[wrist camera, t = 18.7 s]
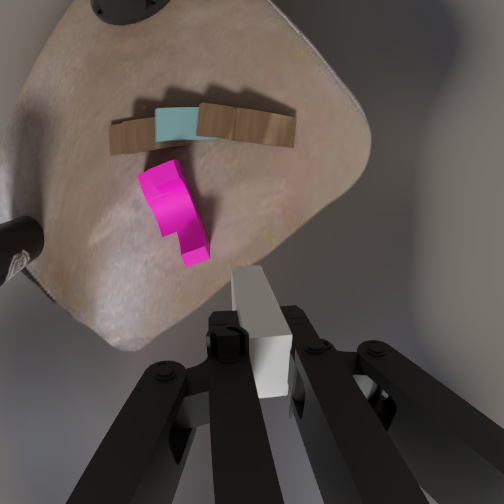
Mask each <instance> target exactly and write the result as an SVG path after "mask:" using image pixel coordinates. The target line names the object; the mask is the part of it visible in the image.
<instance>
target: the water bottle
mask: <svg viewBox="0 0 504 504" xmlns="http://www.w3.org/2000/svg"><path fill="white" fill-rule="evenodd" d="M43 246H44V236H43V232H42V229H41V227H40V225H39V224H38V222H37V221H36V220H35V219H33V218H31V217H29V216H23V217H20V218H17V219H14V220H11V221H8V222H5V223H2V224H0V286H1V285H3V284H4V283H5V282H6V281H8V280H9V279H10V278H11V277H12V276H13V275H15V274H16V273H17V272H19V271H20V270H21V269H22V268H24V267H25V266H26V265H27V264H29V263H30V262H31V261H33V260H34V259H35V258H37V257H38V256H39V255H40V254H41V252H42V250H43Z"/></svg>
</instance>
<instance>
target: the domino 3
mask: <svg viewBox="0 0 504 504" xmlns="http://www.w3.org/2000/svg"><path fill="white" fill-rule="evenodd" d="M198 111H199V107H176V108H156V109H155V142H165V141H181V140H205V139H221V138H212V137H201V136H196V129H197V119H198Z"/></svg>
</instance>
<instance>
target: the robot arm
mask: <svg viewBox="0 0 504 504" xmlns="http://www.w3.org/2000/svg"><path fill="white" fill-rule="evenodd" d="M168 2H169V0H91V7H92V9H93V11H94V13H95V14H96V15H97V16H98V18H99V19H101V20H102V21H104V22H106V23H108V24H112V25H128V24H133V23H136V22H139V21H142V20H145V19H147V18H149V17H151V16H152V15H154V14H155V13H157V12H158V11H160V10H161V9H162V8H163V7H164V6H165V5H166V4H167V3H168ZM231 284H232V311H216V312H213V313H212V314H211V316H210V317H209V331H208V332H207V335H206V344H207V354H208V357H207V359H206V360H205V361H204V362H203V363H201V364H199V365H197V366H194V367H191V368H187V369H185V367H184V366H183V365H181V364H180V363H177V362H174V361H160V362H157V363H155V364H152V365H150V366H149V367H148V368H147V369H146V370H145V372H144V374H143V375H142V377H141V378H140V380H139V382H138V383H137V385H136V386H135V388H134V390H133V391H132V393H131V394H130V396H129V398H128V399H127V401H126V403H125V404H124V406H123V407H122V409H121V411H120V412H119V414H118V416H117V417H116V419H115V421H114V422H113V424H112V425H111V427H110V429H109V431H108V432H107V434H106V436H105V437H104V439H103V440H102V442H101V444H100V445H99V447H98V449H97V451H96V452H95V454H94V456H93V457H92V459H91V461H90V462H89V464H88V466H87V468H86V469H85V471H84V473H83V474H82V476H81V478H80V480H79V481H78V483H77V485H76V487H75V488H74V490H73V492H72V494H71V496H70V497H69V499H68V501H67V502H66V504H172V501H173V498H174V495H175V492H176V489H177V486H178V483H179V480H180V477H181V474H182V472H183V469H184V466H185V463H186V460H187V457H188V454H189V451H190V448H191V445H192V442H193V439H194V436H195V433H196V427H198V426H201V425H204V424H208V423H210V434H211V452H212V467H213V482H214V494H215V504H284V501H283V497H282V493H281V489H280V485H279V481H278V477H277V474H276V469H275V465H274V461H273V457H272V453H271V449H270V445H269V440H268V436H267V431H266V427H265V423H264V419H263V414H262V410H261V406H260V402H259V398H267V397H276V396H283V395H287V393H288V385H289V388H290V391H291V400H290V409H289V418H292V414H293V413H294V416H295V419H296V422H297V425H298V428H299V431H300V434H301V437H302V440H303V443H304V446H305V449H306V452H307V455H308V458H309V461H310V464H311V467H312V470H313V473H314V475H315V478H316V481H317V484H318V487H319V490H320V493H321V496H322V499H323V502H324V504H429V502H428V500H427V498H426V497H425V495H424V493H423V492H422V490H421V488H420V487H419V485H420V486H421V487H422V488H423V489H424V490H425V491H426V492H427V493H428V494H429V495H430V496H431V497H432V498H433V499H434V500H435V501H436V502H437V503H438V504H504V429H503V428H502V427H500V426H499V425H497V424H496V423H495V422H493V421H492V420H491V419H489V418H488V417H487V416H485V415H484V414H483V413H481V412H480V411H479V410H477V409H476V408H475V407H473V406H472V405H470V404H469V403H468V402H466V401H465V400H464V399H462V398H461V397H459V396H458V395H457V394H456V393H454V392H453V391H451V390H450V389H449V388H447V387H446V386H445V385H443V384H442V383H441V382H439V381H438V380H436V379H435V378H434V377H432V376H431V375H429V374H428V373H427V372H426V371H424V370H422V369H421V368H420V367H419V366H417V365H416V364H414V363H413V362H412V361H410V360H409V359H408V358H406V357H405V356H404V355H402V354H401V353H399V352H398V351H397V350H395V349H394V348H393V347H391V346H390V345H388V344H386V343H384V342H381V341H376V340H370V341H365V342H363V343H361V344H360V345H359V346H358V348H357V352H343V351H337V350H336V349H335V347H334V346H333V345H332V344H331V343H330V342H329V341H326V340H324V339H320V338H319V336H318V334H317V333H316V331H315V329H314V328H313V326H312V325H311V323H310V321H309V319H308V318H307V316H306V314H305V313H304V311H303V310H302V309H300V308H299V307H297V306H295V305H293V306H281V307H279V305H278V303H277V300H276V298H275V296H274V294H273V292H272V290H271V288H270V285H269V283H268V281H267V279H266V277H265V274H264V272H263V270H262V268H261V266H260V265H258V266H236V267H231ZM383 390H384V391H385V392H386V393H387V394H388V395H389V396H388V398H386V397H384V396H383V395H382V392H383ZM418 484H419V485H418Z"/></svg>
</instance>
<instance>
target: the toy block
mask: <svg viewBox="0 0 504 504" xmlns="http://www.w3.org/2000/svg"><path fill="white" fill-rule="evenodd" d="M137 177H138V180H139V183H140V185H141V188H142V191H143V193H144V196H145V199H146V201H147V202H148V204H149V206H150V207H151V209H152V211H153V213H154V215H155V218H156V220H157V223H158V225H159V228H160V231H161V234H162V237H164V236H167V235H169V234H172V233H174V232H177V234H178V238H179V242H180V248H181V257H182V259H183V262H184V264H185V266H186V267H188V266H191V265H194V264H197V263H199V262H202V261H205V260H208V259H210V243H209V241H208V238H207V235H206V233H205V230H204V228H203V225H202V222H201V220H200V217H199V214H198V211H197V209H196V206H195V203H194V201H193V198H192V195H191V192H190V190H189V187H188V184H187V181H186V179H185V176H184V173H183V170H182V167H181V164H180V162H179V160H171V161H168V162H166V163H163V164H161V165H158V166H156V167H153V168H151V169H148V171H146V172H144V173H141V174H139V175H137Z"/></svg>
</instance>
